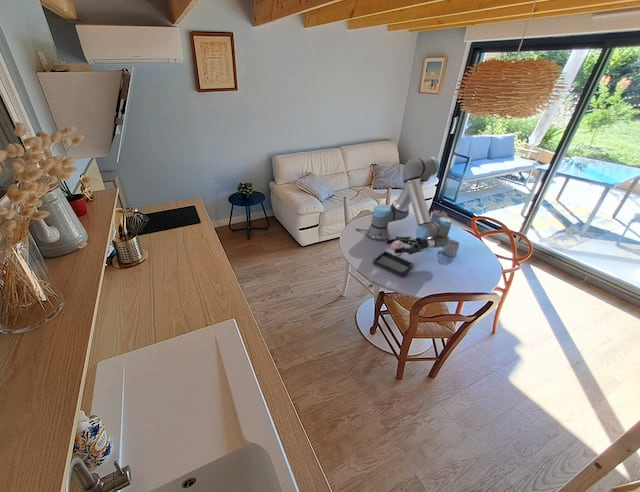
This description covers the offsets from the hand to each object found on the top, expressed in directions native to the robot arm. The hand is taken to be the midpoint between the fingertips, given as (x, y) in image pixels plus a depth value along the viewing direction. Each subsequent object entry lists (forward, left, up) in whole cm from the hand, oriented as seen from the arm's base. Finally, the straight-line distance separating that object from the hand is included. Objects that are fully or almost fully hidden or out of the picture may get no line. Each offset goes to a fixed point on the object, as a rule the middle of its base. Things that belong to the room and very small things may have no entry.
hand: (391, 246), depth 173 cm
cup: (+22, +43, -15) cm, 51 cm away
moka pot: (+5, +62, -15) cm, 64 cm away
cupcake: (+3, +4, -6) cm, 8 cm away
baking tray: (+2, +4, -15) cm, 16 cm away
